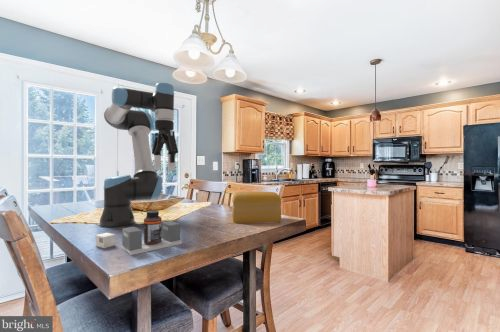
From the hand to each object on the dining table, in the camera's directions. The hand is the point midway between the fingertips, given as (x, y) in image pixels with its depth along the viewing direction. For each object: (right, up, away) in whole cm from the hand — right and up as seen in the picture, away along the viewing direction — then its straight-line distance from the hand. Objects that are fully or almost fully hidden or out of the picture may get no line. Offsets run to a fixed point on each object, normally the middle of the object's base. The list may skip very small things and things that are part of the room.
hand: (164, 170), depth 112 cm
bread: (+40, -27, +25) cm, 54 cm away
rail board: (+2, -27, -18) cm, 32 cm away
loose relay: (-15, -27, -18) cm, 36 cm away
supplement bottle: (+2, -26, -18) cm, 32 cm away
